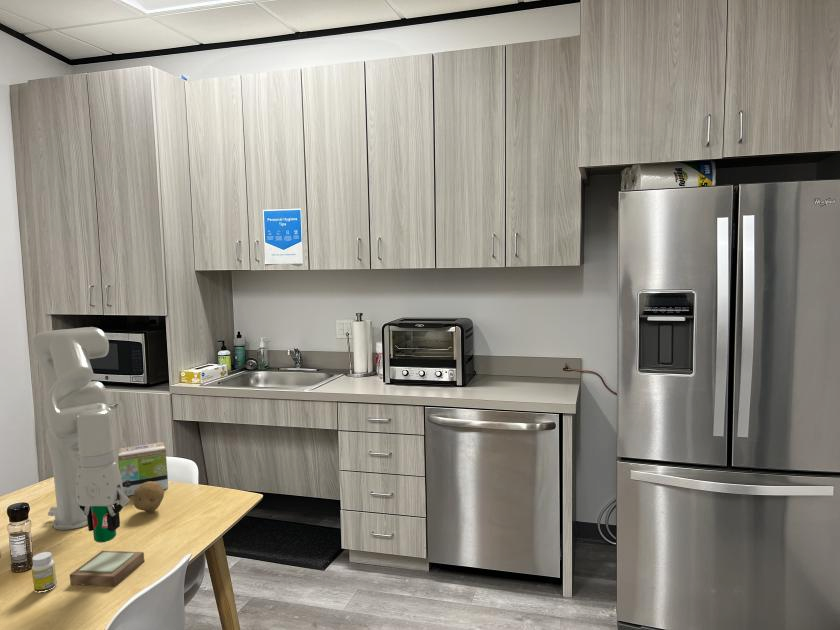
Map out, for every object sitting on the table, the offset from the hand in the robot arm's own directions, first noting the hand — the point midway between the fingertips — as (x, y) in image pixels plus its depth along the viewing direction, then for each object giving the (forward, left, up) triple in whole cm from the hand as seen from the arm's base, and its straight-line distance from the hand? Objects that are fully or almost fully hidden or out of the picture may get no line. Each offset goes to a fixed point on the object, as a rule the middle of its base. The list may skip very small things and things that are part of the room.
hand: (104, 528), depth 151 cm
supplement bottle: (-11, -8, -12) cm, 18 cm away
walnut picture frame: (0, 0, -12) cm, 12 cm away
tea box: (-25, +54, -12) cm, 61 cm away
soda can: (0, 0, -3) cm, 3 cm away
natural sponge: (-11, +35, -12) cm, 39 cm away
